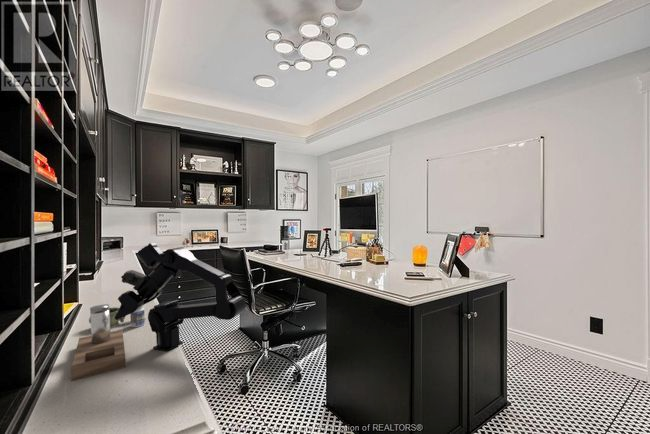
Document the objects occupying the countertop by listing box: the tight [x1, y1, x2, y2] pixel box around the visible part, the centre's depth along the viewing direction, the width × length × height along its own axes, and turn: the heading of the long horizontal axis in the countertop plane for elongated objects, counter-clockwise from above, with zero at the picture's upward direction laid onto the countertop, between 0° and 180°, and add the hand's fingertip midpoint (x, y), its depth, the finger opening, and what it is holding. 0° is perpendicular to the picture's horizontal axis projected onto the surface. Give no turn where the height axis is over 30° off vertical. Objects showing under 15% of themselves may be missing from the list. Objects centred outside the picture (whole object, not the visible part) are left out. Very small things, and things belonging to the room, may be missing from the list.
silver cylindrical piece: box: [89, 303, 111, 344], centre depth 100 cm, size 5×5×11 cm
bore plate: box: [70, 329, 126, 381], centre depth 96 cm, size 26×12×3 cm, turn 35°
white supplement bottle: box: [143, 303, 148, 320], centre depth 130 cm, size 4×5×10 cm
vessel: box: [88, 306, 126, 330], centre depth 122 cm, size 12×9×6 cm
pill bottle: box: [129, 305, 146, 328], centre depth 122 cm, size 5×5×8 cm
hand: (123, 314), depth 100 cm, fingers open, 9 cm apart
